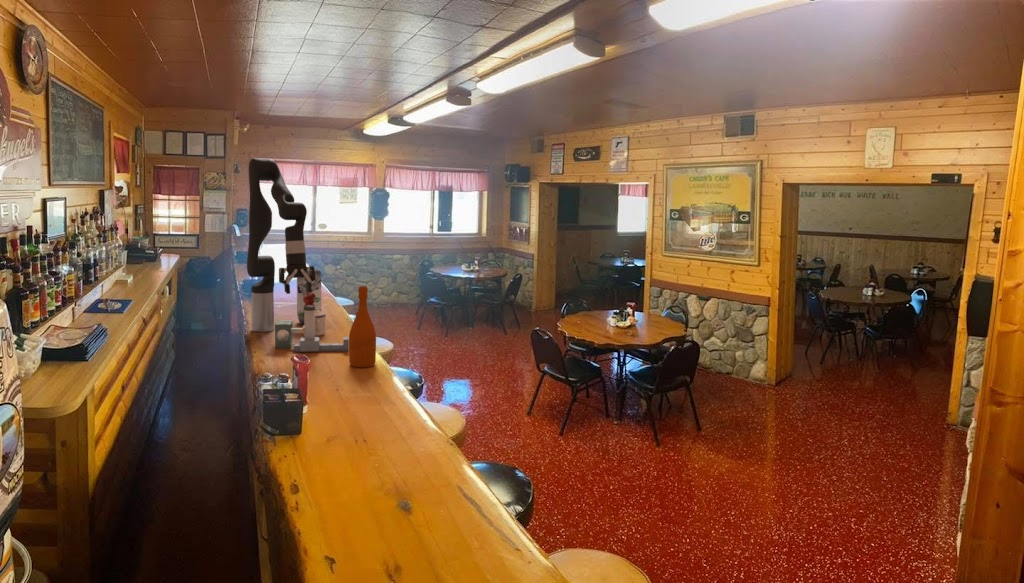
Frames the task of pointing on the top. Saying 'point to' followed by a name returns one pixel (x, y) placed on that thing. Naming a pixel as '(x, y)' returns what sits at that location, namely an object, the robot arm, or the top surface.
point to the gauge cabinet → (283, 334)
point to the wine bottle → (362, 335)
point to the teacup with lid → (319, 322)
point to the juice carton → (308, 295)
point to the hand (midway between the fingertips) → (298, 292)
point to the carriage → (309, 331)
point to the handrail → (328, 346)
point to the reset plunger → (298, 330)
